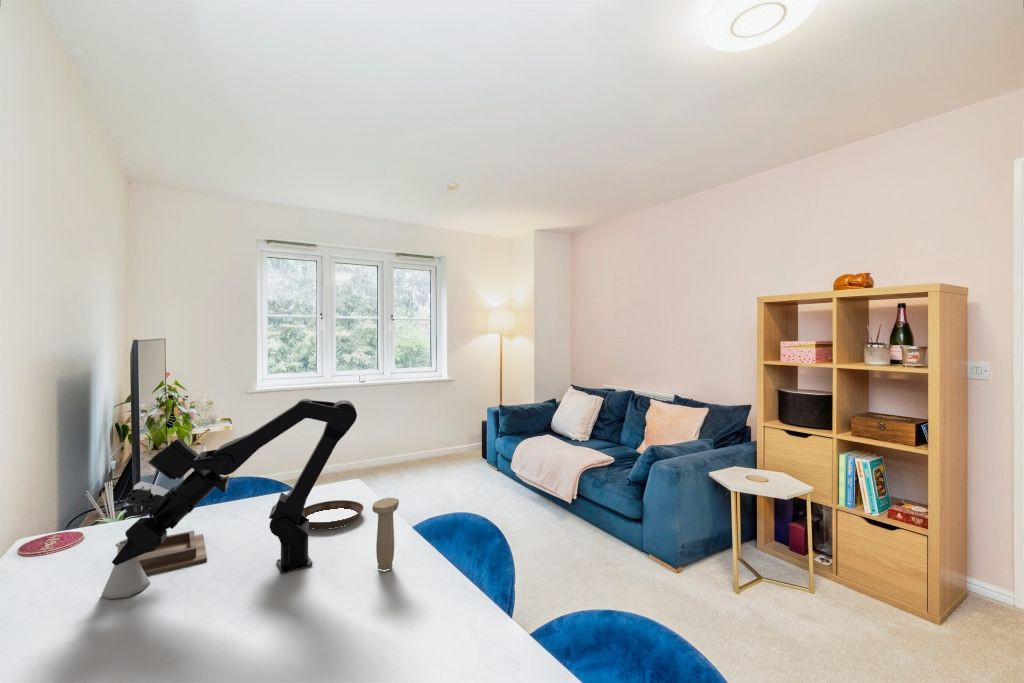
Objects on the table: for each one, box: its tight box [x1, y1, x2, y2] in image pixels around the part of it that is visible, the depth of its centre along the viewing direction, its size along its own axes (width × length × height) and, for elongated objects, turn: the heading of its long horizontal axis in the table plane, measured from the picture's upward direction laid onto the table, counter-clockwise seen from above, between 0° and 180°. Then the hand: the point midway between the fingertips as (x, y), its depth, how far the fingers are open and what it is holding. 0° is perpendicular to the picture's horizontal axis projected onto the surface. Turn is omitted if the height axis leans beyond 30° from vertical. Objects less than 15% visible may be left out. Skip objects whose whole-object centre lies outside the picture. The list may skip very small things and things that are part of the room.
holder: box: [137, 530, 208, 576], centre depth 108 cm, size 16×16×3 cm
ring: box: [302, 499, 364, 530], centre depth 131 cm, size 18×18×3 cm
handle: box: [371, 497, 400, 570], centre depth 104 cm, size 5×6×15 cm
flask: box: [101, 538, 151, 600], centre depth 94 cm, size 7×7×10 cm
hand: (123, 553), depth 94 cm, fingers open, 9 cm apart
